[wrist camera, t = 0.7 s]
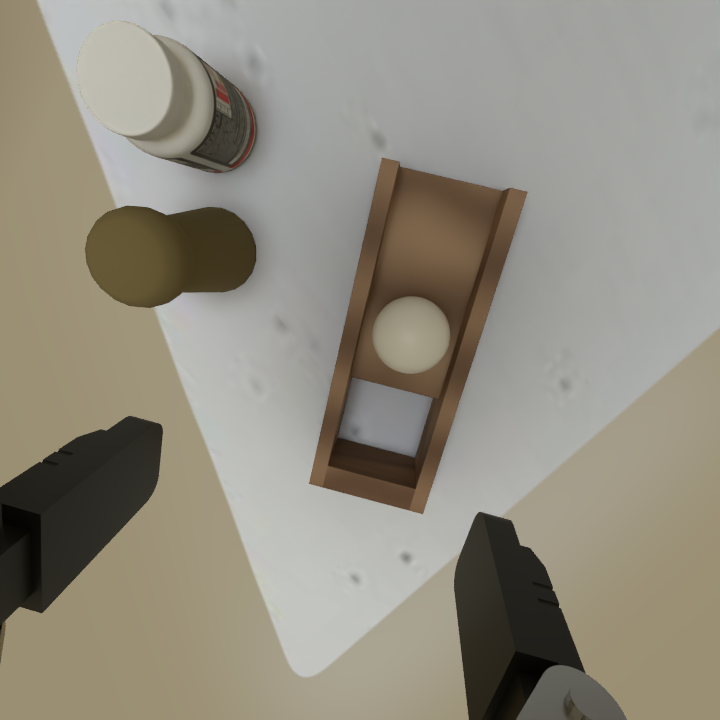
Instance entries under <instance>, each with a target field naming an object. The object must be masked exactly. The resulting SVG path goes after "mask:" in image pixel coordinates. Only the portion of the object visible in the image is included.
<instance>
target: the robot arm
mask: <svg viewBox="0 0 720 720" xmlns="http://www.w3.org/2000/svg"><path fill="white" fill-rule="evenodd" d="M162 435H163V429H162V426H161V424H159V423H155V422H151V421H148V420H144V419H140V418H137V417H133V416H128V417H126V418H124V419H123V420H121V421H120V422H118V423H117V424H116V425H114V426H113V427H111V428H110V429H108V430H107V431H105V430H98V431H95V432H92V433H89V434H86V435H83V436H80V437H77V438H75V439H74V440H72V441H71V442H69V443H68V444H66V445H65V446H63V447H62V448H60V449H59V451H58V452H54V453H53V454H51V455H49V456H48V457H46V458H45V459H44V460H43V462H42V463H41V462H39V463H37V464H35V465H34V466H32V467H31V468H29V469H28V470H26V471H25V472H23V473H22V474H20V475H19V476H17V477H15V478H14V479H12V480H11V481H10V482H8V483H6V484H5V485H3V486H2V487H0V662H1V655H2V649H3V643H4V636H5V627H6V625H5V620H6V619H7V618H8V617H9V616H10V615H11V614H12V613H13V612H14V611H15V610H16V609H17V608H18V607H23V608H26V609H29V610H33V611H36V612H39V613H43V612H44V611H45V610H46V609H47V608H48V606H49V605H50V604H51V603H52V602H53V601H54V600H55V599H56V598H57V597H58V596H59V595H60V594H61V593H62V592H63V590H64V589H65V588H66V587H67V586H68V585H69V584H70V583H71V582H72V581H73V580H74V579H75V578H76V577H77V576H78V575H79V574H80V572H81V571H82V570H83V569H84V568H85V567H86V566H87V565H88V564H89V563H90V562H91V561H92V560H93V558H95V556H96V555H97V554H98V553H99V552H100V551H101V550H102V549H103V548H104V547H105V546H106V545H107V544H108V543H109V542H110V541H111V539H112V538H113V537H114V536H115V535H116V534H117V533H118V532H119V531H120V530H121V529H122V528H123V527H124V526H125V525H126V523H127V522H128V521H129V520H130V519H131V518H132V517H133V516H134V515H135V514H136V513H137V511H139V510H140V509H141V508H142V506H143V505H144V504H145V503H146V502H147V501H148V500H149V498H150V497H151V495H152V494H153V492H154V489H155V487H156V485H157V481H158V477H159V467H160V457H161V446H162ZM552 589H553V587H552V584H551V581H550V578H549V576H548V573H547V571H546V568H545V566H544V565H543V564H542V563H541V561H540V560H539V559H538V557H537V556H536V555H535V554H534V552H533V551H532V550H531V549H530V548H528V547H524V546H521V545H520V543H519V540H518V537H517V535H516V532H515V528H514V525H513V523H512V521H511V520H508V519H504V518H501V517H497V516H493V515H490V514H486V513H482V512H479V513H478V514H477V515H476V517H475V519H474V521H473V523H472V526H471V529H470V531H469V534H468V536H467V539H466V541H465V544H464V546H463V549H462V551H461V554H460V556H459V559H458V562H457V566H456V571H455V579H454V591H455V599H456V608H457V617H458V626H459V635H460V644H461V652H462V662H463V671H464V678H465V688H466V697H467V706H468V715H469V720H627V719H626V717H625V715H624V713H623V711H622V710H621V708H620V707H619V705H618V704H617V702H616V701H615V700H614V698H613V697H612V696H611V695H610V694H609V693H608V692H607V690H606V689H605V688H604V687H602V686H601V685H600V684H599V683H598V682H597V681H595V680H594V679H593V678H591V677H590V676H588V675H586V673H585V671H584V668H583V665H582V663H581V660H580V657H579V655H578V652H577V649H576V647H575V644H574V642H573V639H572V637H571V634H570V631H569V629H568V626H567V623H566V621H565V618H564V615H563V613H562V610H561V609H560V608H559V602H558V599H557V597H556V594H555V592H554V591H553V590H552Z"/></svg>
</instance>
